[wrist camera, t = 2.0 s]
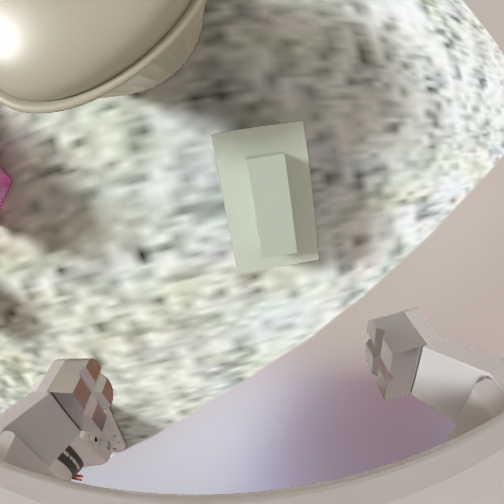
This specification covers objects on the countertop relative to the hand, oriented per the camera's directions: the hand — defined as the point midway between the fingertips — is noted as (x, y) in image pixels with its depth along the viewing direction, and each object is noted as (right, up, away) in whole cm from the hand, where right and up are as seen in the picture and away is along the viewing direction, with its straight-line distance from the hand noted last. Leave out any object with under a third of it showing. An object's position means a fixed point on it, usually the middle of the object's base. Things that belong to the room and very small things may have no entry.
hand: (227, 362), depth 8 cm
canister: (-11, +26, +18) cm, 33 cm away
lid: (+2, +8, +19) cm, 21 cm away
